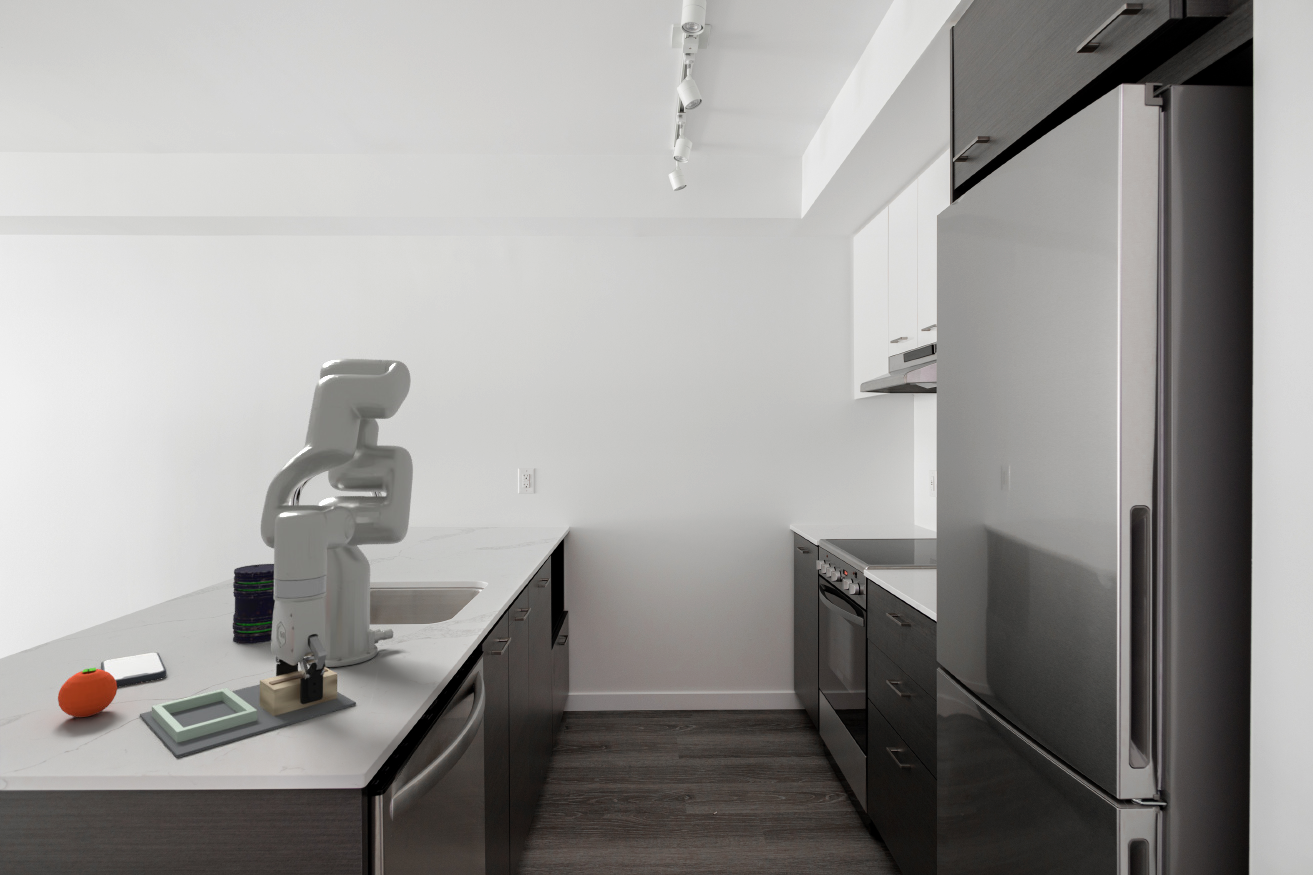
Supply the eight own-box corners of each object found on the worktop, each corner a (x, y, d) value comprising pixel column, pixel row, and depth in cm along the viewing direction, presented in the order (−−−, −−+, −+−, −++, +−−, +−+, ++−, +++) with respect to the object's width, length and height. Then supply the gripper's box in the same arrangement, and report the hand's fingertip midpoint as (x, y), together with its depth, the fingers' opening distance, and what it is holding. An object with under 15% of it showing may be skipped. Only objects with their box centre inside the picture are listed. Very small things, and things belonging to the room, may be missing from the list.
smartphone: (99, 669, 123) (102, 691, 111) (100, 660, 123) (102, 682, 111) (158, 659, 129) (167, 679, 117) (159, 650, 129) (167, 670, 117)
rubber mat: (304, 675, 119) (304, 673, 119) (355, 704, 106) (355, 702, 106) (139, 716, 101) (139, 713, 101) (176, 757, 88) (176, 754, 88)
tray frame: (226, 696, 108) (227, 687, 108) (256, 720, 99) (256, 710, 99) (151, 715, 100) (151, 705, 100) (176, 742, 91) (177, 731, 91)
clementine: (61, 710, 103) (62, 665, 103) (118, 700, 107) (119, 656, 107) (54, 728, 96) (54, 680, 96) (115, 717, 100) (116, 670, 100)
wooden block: (321, 688, 111) (321, 664, 111) (337, 697, 108) (337, 672, 108) (259, 705, 104) (259, 678, 104) (273, 715, 100) (274, 688, 100)
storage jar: (292, 636, 142) (293, 567, 142) (241, 647, 135) (242, 574, 135) (276, 627, 149) (276, 562, 149) (225, 637, 141) (227, 567, 141)
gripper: (255, 583, 109) (253, 686, 109) (297, 600, 98) (295, 715, 97) (303, 576, 114) (301, 674, 114) (348, 591, 103) (346, 700, 103)
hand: (298, 693), depth 106 cm, fingers open, 9 cm apart
